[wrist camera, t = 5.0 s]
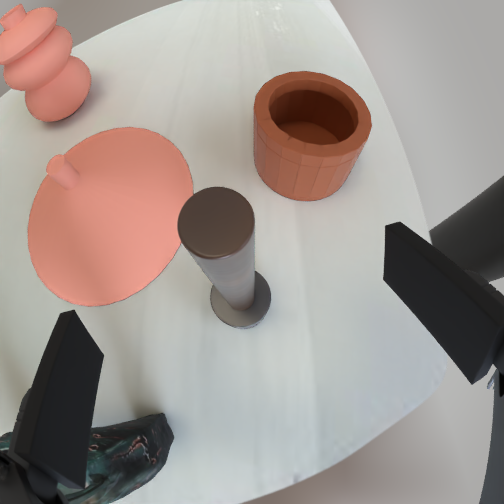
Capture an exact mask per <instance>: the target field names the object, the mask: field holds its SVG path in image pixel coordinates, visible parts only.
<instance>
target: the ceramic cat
mask: <svg viewBox="0 0 504 504" xmlns="http://www.w3.org/2000/svg"><path fill="white" fill-rule="evenodd" d="M12 433H13V432H8V433H5V434H4V435H2V436H1V437H0V450H1V451H2V452H4V453H5V454H6V455H7V453H8V449H9V445H10V441H11V437H12ZM173 440H174V435H173V433H172V431H171V429H170V427H169V425H168V423H167V420H166V417H165V415H164V414H163V413H161V414H156V415H149V416H146V417H143V418H141V419H136V420H132V421H128V422H124V423H119V424H115V425H110V426H105V427H96V428H91V434H90V442H89V451H88V460H87V472H86V485H85V490H81V489H71V488H67V487H65V486H64V485H62V484H60V483H59V482H58V485H57V488H58V489H60V490H61V491H62V493H63V494H64V496H65V497H66V499H67V500H68V502H69V504H109V503H111V502H114V501H116V500H118V499H121V498H123V497H125V496H126V495H128V494H130V493H131V492H133V491H134V490H136V489H138V488H140V487H141V486H143V485H145V484H146V483H148V482H149V481H150V480H152V479H153V478H154V477H155V475H156V474H157V473H158V472H159V471H160V470H161V469H162V467H163V466H164V465H165V463H166V460H167V457H168V453H169V450H170V446H171V444H172V442H173Z"/></svg>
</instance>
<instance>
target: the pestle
mask: <svg viewBox="0 0 504 504" xmlns="http://www.w3.org/2000/svg"><path fill="white" fill-rule="evenodd" d="M177 230H178V235H179V238H180V240H181V242H182V244H183V245H184V246H185V248H186V249H187V250H188V252H189V253H190V254H191V256H192V257H193V258H194V260H195V261H196V262H197V264H198V265H199V266H200V268H201V269H202V270H203V272H204V273H205V274H206V276H207V277H208V278H209V280H210V281H211V282H212V283H213V286H212V289H211V295H210V300H211V305H212V308H213V311H214V312H215V314H216V315H217V317H218V318H219V319H220V320H222V321H223V322H224V323H226V324H228V325H230V326H232V327H235V328H239V329H247V328H251V327H254V326H255V325H257V324H258V323H260V322H261V321H262V320H263V318H264V317H265V315H266V313H267V311H268V309H269V307H270V303H271V292H270V288H269V285H268V283H267V282H266V280H265V279H264V278H263V276H261V275H260V274H259V273H258V272H256V271H255V217H254V212H253V209H252V207H251V205H250V204H249V202H248V201H247V200H246V198H245V197H243V196H242V195H241V194H240V193H238V192H236V191H234V190H232V189H229V188H225V187H210V188H206V189H203V190H201V191H199V192H197V193H195V194H194V195H192V196H191V197H190V198H189V199H188V200H187V201H186V202H185V204H184V205H183V207H182V209H181V211H180V213H179V216H178V221H177Z"/></svg>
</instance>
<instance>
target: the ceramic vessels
mask: <svg viewBox="0 0 504 504" xmlns="http://www.w3.org/2000/svg"><path fill="white" fill-rule="evenodd" d="M56 21H57V12H56V11H54V9H53V8H50V7H41V8H37V9H34V10H31V11H29V12H27V13H26V12H25V10H24V8H23V6H22V4H19V5H17V6H16V7H14V8H13V9H11V10H10V11H9V12H8V13H6V14H5V15H4V16H3V17H2V18H1V19H0V23H1V25H2V26H3V28H4V29H5V30H4V31H3V32H2V33H1V34H0V65H4V79H5V81H6V84H8V85H9V86H10V87H11V88H12V89H15V90H20V91H24V90H26V91H25V101H26V105H27V108H28V110H29V112H30V113H31V114H32V115H33V116H34V117H35V118H36V119H38V120H41V121H44V122H53V121H57V120H61V119H63V118H66V117H68V116H70V115H71V114H73V113H74V112H75V111H76V110H77V109H78V108H79V107H80V106H81V104H82V103H83V102H84V100H85V99H86V97H87V95H88V93H89V90H90V86H91V74H90V71H89V68H88V67H87V66H86V64H85V63H84V62H83V61H82V60H80V59H79V58H77V57H74V56H71V55H70V53H71V50H72V43H73V41H72V38H71V34H70V32H69V31H68V30H67V29H65V28H64V27H61V26H57V25H55V24H56ZM46 171H47V173H48V174H47V176H46V177H45V179H44V180H43V182H42V183H41V185H40V187H39V190H38V192H37V194H36V196H35V198H34V202H33V205H32V208H31V212H30V216H29V224H28V247H29V252H30V256H31V261H32V263H33V266H34V268H35V270H36V272H37V275H38V276H39V278H40V279H41V280H42V282H43V283H44V284H45V286H46V287H47V288H48V289H49V290H50V291H52V292H53V293H54V294H55V295H57V296H58V297H59V298H62V299H64V300H66V301H68V302H70V303H72V304H78V305H83V306H101V305H108V304H111V303H114V302H118V301H121V300H124V299H126V298H128V297H129V296H131V295H133V294H135V293H136V292H138V291H140V290H142V289H143V288H144V287H145V286H147V285H148V284H149V283H150V282H151V281H152V280H154V279H155V278H156V277H157V276H158V275H159V274H160V273H161V272H162V270H163V269H164V268H165V267H166V266H167V264H168V263H169V262H170V261H171V260H172V258H173V257H174V255H175V253H176V251H177V249H178V248H179V246H180V244H181V240H180V238H179V235H178V230H177V221H178V216H179V213H180V211H181V209H182V207H183V205H184V204H185V202H186V201H187V200H188V199H189V198H190V197H191V196H192V195H193V183H192V178H191V174H190V171H189V167H188V164H187V163H186V161H185V159H184V157H183V156H182V154H181V152H180V151H179V150H178V149H177V148H176V147H175V146H174V145H173V144H172V143H171V141H169V140H168V139H166V138H165V137H163V136H161V135H160V134H158V133H155V132H152V131H150V130H147V129H142V128H133V127H125V128H115V129H111V130H107V131H103V132H100V133H98V134H95V135H93V136H91V137H89V138H86V139H85V140H83V141H82V142H80V143H79V144H77V145H75V146H74V147H73V148H71V149H70V150H69V151H68V152H67V153H66V154H64V155H56V156H54V157H53V158H52V159H51V160H50V161H49V163H48V165H47V168H46Z"/></svg>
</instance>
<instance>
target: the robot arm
mask: <svg viewBox="0 0 504 504" xmlns="http://www.w3.org/2000/svg"><path fill="white" fill-rule="evenodd" d="M383 280H384V281H385V282H386V283H387V284H388V285H389V287H390V288H391V289H392V290H393V291H394V292H395V293H396V294H397V295H398V296H399V298H400V299H401V300H402V301H403V302H404V303H405V304H406V305H407V307H408V308H409V309H410V310H411V311H412V312H413V313H414V315H415V316H416V317H417V318H418V319H419V320H420V321H421V323H422V324H423V325H424V326H425V327H426V328H427V330H428V331H429V332H430V333H431V334H432V336H433V337H434V338H435V339H436V340H437V342H438V343H439V344H440V345H441V346H442V348H443V349H444V350H445V351H446V353H447V354H448V355H449V356H450V358H451V359H452V360H453V361H454V362H455V364H456V365H457V366H458V368H459V369H460V370H461V371H462V373H463V374H464V375H465V377H466V378H467V379H468V381H469V382H470V383H471V384H474V383H475V382H477V381H478V380H480V379H481V378H483V377H484V376H485V375H487V373H488V371H489V369H490V367H491V366H492V364H494V365H495V367H496V368H497V369H496V371H495V373H494V374H493V376H492V378H491V379H490V381H489V383H488V386H487V389H489V388H490V387H491V385H492V384H493V382H494V387H493V389H494V408H493V424H492V434H491V443H490V451H489V457H488V464H487V470H486V475H485V480H484V486H483V490H482V494H481V498H480V502H479V504H504V296H503V295H502V294H501V293H500V292H499V291H496V288H495V287H493V286H492V285H491V284H489V282H488V281H487V280H485V279H484V278H483V277H482V276H481V275H479V274H477V273H475V272H473V271H471V270H468V269H466V270H464V271H463V270H462V269H461V268H460V267H459V266H457V265H456V264H455V263H454V262H452V261H451V260H450V259H449V258H448V257H446V256H445V255H444V254H442V253H441V252H440V251H439V250H437V249H436V248H435V247H434V246H432V245H431V244H430V243H428V242H427V241H426V240H424V239H423V238H422V237H420V236H419V235H418V234H416V233H415V232H414V231H412V230H411V229H410V228H408V227H407V226H405V225H404V224H403V223H401V222H396V223H393V224H389V225H386V226H385V256H384V276H383ZM103 358H104V354H103V353H102V352H101V350H100V349H99V347H98V346H97V344H96V343H95V341H94V340H93V338H92V337H91V335H90V334H89V332H88V331H87V329H86V328H85V326H84V325H83V323H82V322H81V320H80V318H79V317H78V315H77V313H76V312H75V310H71V311H67V312H63V313H60V315H59V318H58V320H57V322H56V324H55V327H54V329H53V331H52V334H51V336H50V339H49V341H48V344H47V346H46V349H45V351H44V354H43V356H42V359H41V362H40V364H39V367H38V370H37V373H36V375H35V378H34V381H33V384H32V387H31V388H29V390H28V391H27V393H26V394H25V396H24V397H23V399H22V402H21V405H20V409H19V413H18V415H17V419H16V420H17V422H15V426H14V429H13V433H12V437H11V441H10V445H9V449H8V453H7V455H6V454H5V453H4V452H2V451H1V450H0V504H69V502H68V500H67V499H66V497H65V496H64V494H63V493H62V491H61V490H60V489H58V488H57V485H58V482H59V483H60V484H62V485H64V486H65V487H67V488H71V489H81V490H85V485H86V472H87V460H88V451H89V442H90V434H91V426H92V419H93V413H94V406H95V400H96V394H97V389H98V383H99V378H100V373H101V368H102V363H103Z"/></svg>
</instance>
